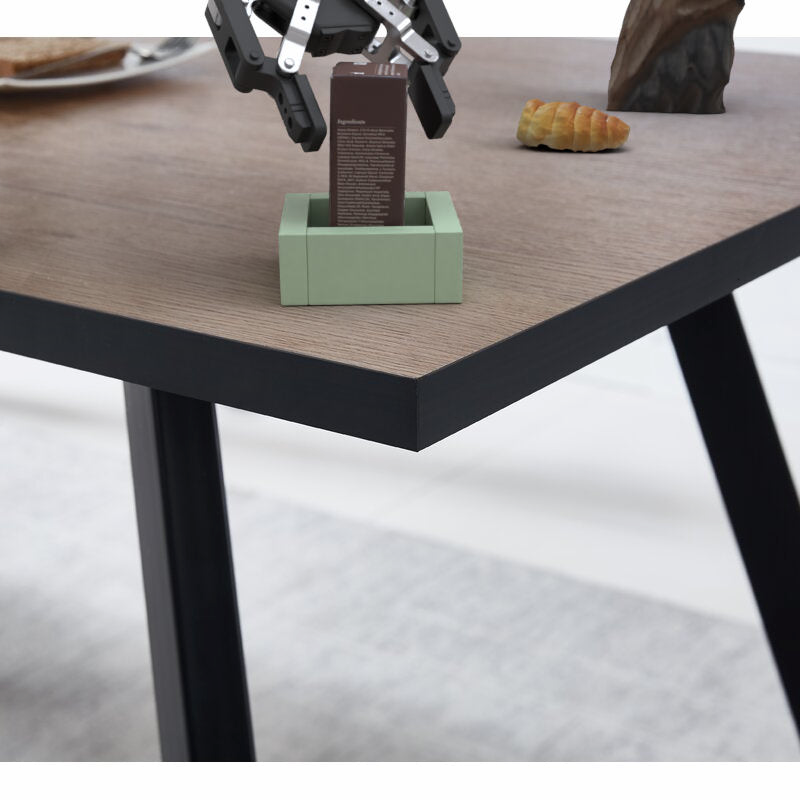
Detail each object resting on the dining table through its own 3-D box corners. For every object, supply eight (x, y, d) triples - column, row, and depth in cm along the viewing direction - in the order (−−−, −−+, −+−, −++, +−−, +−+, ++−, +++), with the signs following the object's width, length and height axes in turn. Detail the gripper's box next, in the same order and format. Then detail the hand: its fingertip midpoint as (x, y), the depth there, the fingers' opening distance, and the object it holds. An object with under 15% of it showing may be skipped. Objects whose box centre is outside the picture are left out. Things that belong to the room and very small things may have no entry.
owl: (638, 92, 141) (651, -106, 134) (755, 100, 136) (775, -105, 129) (600, 110, 131) (611, -104, 124) (725, 119, 126) (745, -104, 118)
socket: (280, 306, 71) (278, 234, 70) (287, 257, 80) (285, 193, 79) (462, 303, 71) (463, 231, 70) (448, 254, 81) (448, 191, 79)
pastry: (635, 143, 114) (638, 99, 113) (618, 158, 109) (620, 111, 107) (532, 136, 118) (534, 93, 116) (510, 150, 112) (511, 105, 111)
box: (407, 294, 73) (407, 74, 69) (327, 294, 73) (322, 74, 69) (408, 264, 79) (408, 60, 74) (334, 264, 79) (329, 60, 74)
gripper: (182, -144, 70) (280, 105, 65) (412, -143, 77) (518, 84, 72) (155, -44, 76) (243, 190, 71) (371, -51, 83) (465, 163, 78)
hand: (381, 136), depth 72 cm, fingers open, 7 cm apart
